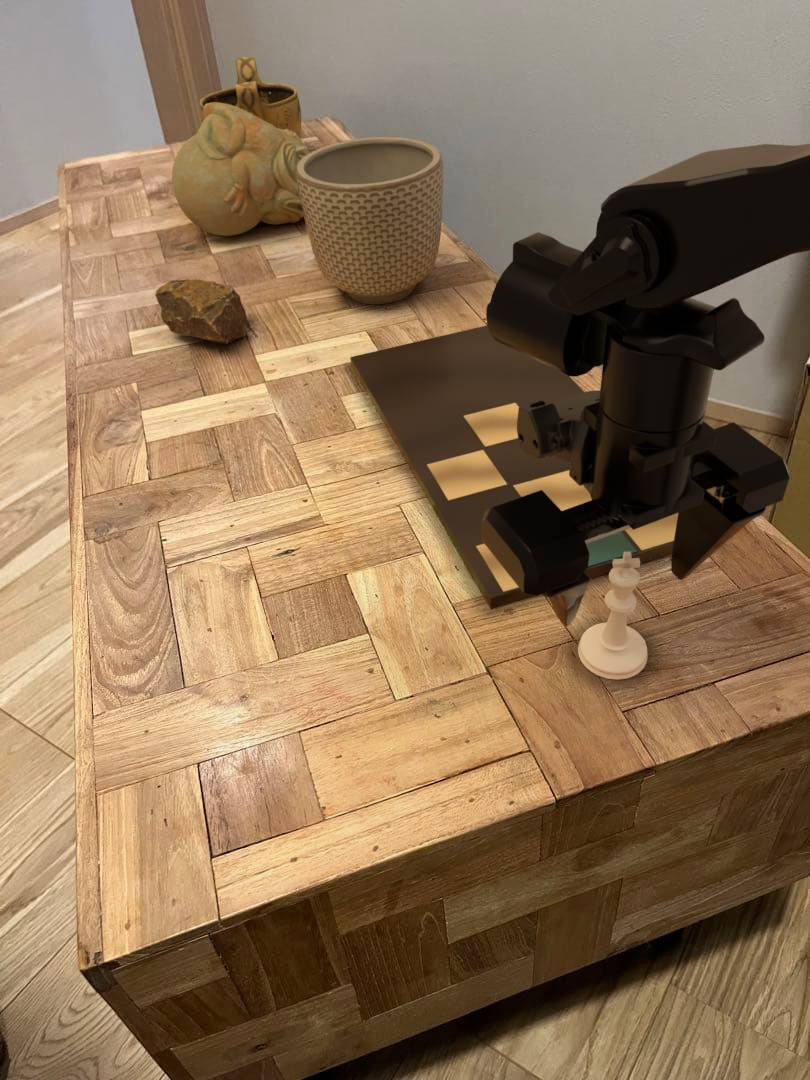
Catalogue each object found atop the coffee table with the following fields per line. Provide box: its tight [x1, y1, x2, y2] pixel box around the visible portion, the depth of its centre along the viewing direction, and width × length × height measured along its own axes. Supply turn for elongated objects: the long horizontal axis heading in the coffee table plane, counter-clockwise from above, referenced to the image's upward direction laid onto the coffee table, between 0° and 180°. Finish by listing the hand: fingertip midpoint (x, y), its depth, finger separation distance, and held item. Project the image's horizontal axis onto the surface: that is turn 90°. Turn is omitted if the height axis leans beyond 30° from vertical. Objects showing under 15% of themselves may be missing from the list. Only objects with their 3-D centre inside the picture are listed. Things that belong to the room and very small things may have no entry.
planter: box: [296, 136, 444, 305], centre depth 101 cm, size 17×17×16 cm
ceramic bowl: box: [199, 56, 302, 138], centre depth 142 cm, size 22×17×15 cm
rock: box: [154, 279, 247, 345], centre depth 98 cm, size 14×6×10 cm
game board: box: [349, 325, 678, 609], centre depth 80 cm, size 40×20×1 cm, turn 19°
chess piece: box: [577, 552, 648, 680], centre depth 57 cm, size 5×5×10 cm
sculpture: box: [171, 102, 311, 237], centre depth 120 cm, size 18×20×20 cm
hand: (621, 597), depth 56 cm, fingers open, 9 cm apart
